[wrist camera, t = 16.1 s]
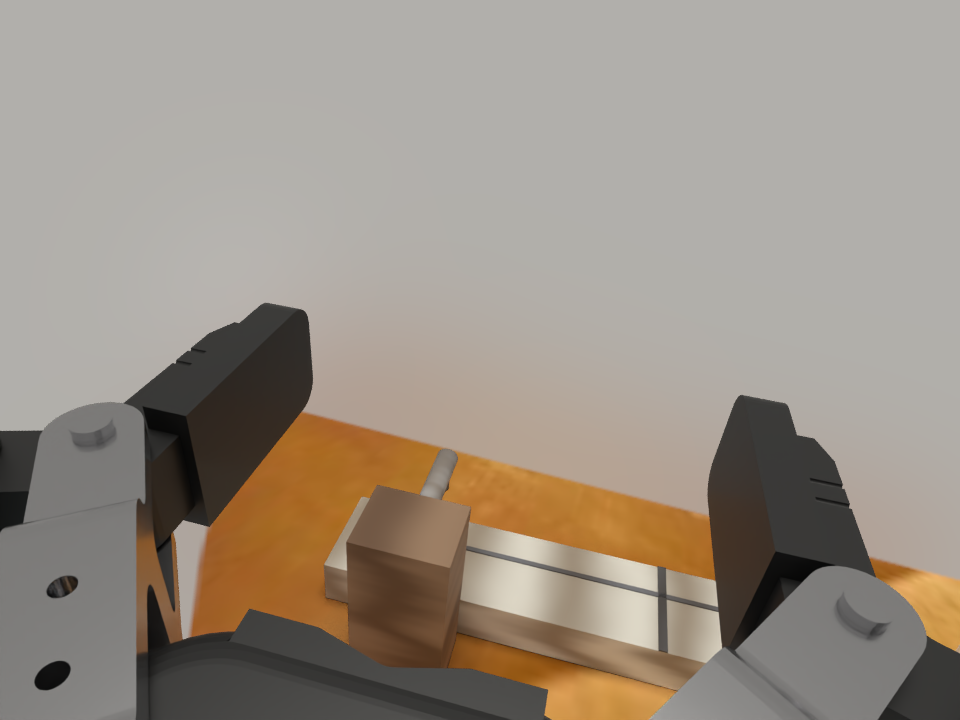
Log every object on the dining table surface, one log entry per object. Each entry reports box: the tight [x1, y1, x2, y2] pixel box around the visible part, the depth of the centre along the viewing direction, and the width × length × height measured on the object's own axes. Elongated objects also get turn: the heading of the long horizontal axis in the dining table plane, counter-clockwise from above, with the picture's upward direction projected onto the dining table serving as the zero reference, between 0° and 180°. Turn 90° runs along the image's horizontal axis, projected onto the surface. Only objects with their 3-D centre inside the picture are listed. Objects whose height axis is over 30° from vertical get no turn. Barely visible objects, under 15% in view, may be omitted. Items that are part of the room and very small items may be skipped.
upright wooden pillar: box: [346, 449, 471, 668], centre depth 36 cm, size 5×9×11 cm, turn 167°
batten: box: [324, 497, 722, 691], centre depth 39 cm, size 30×6×3 cm, turn 77°
